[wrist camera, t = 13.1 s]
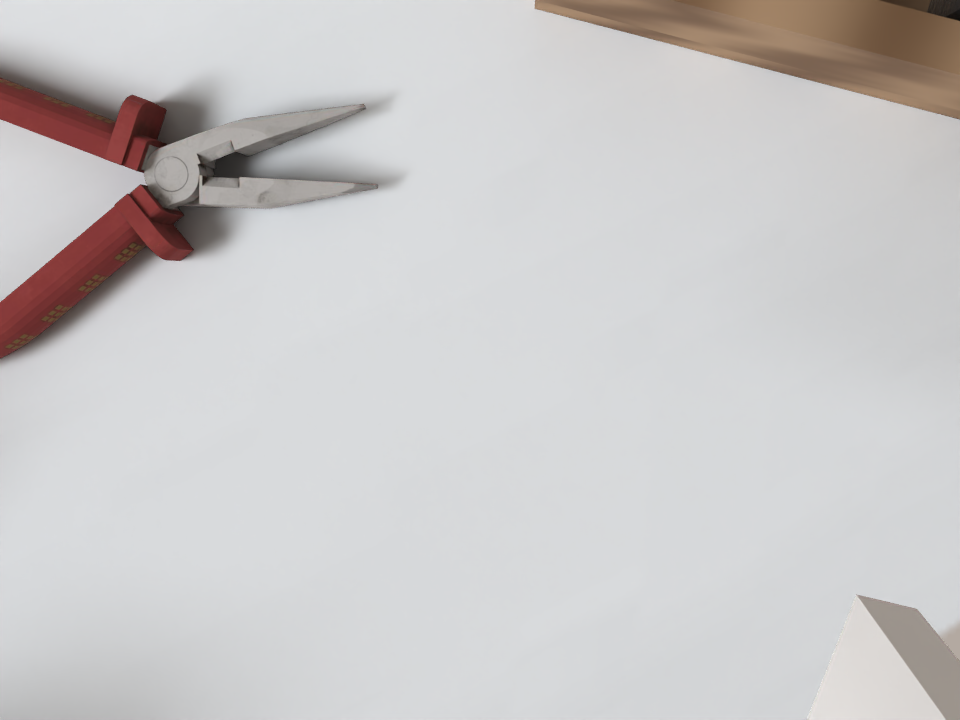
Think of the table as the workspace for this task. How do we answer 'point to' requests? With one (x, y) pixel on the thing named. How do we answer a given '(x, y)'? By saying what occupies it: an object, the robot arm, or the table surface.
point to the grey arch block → (945, 8)
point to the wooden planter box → (806, 40)
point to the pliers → (146, 192)
